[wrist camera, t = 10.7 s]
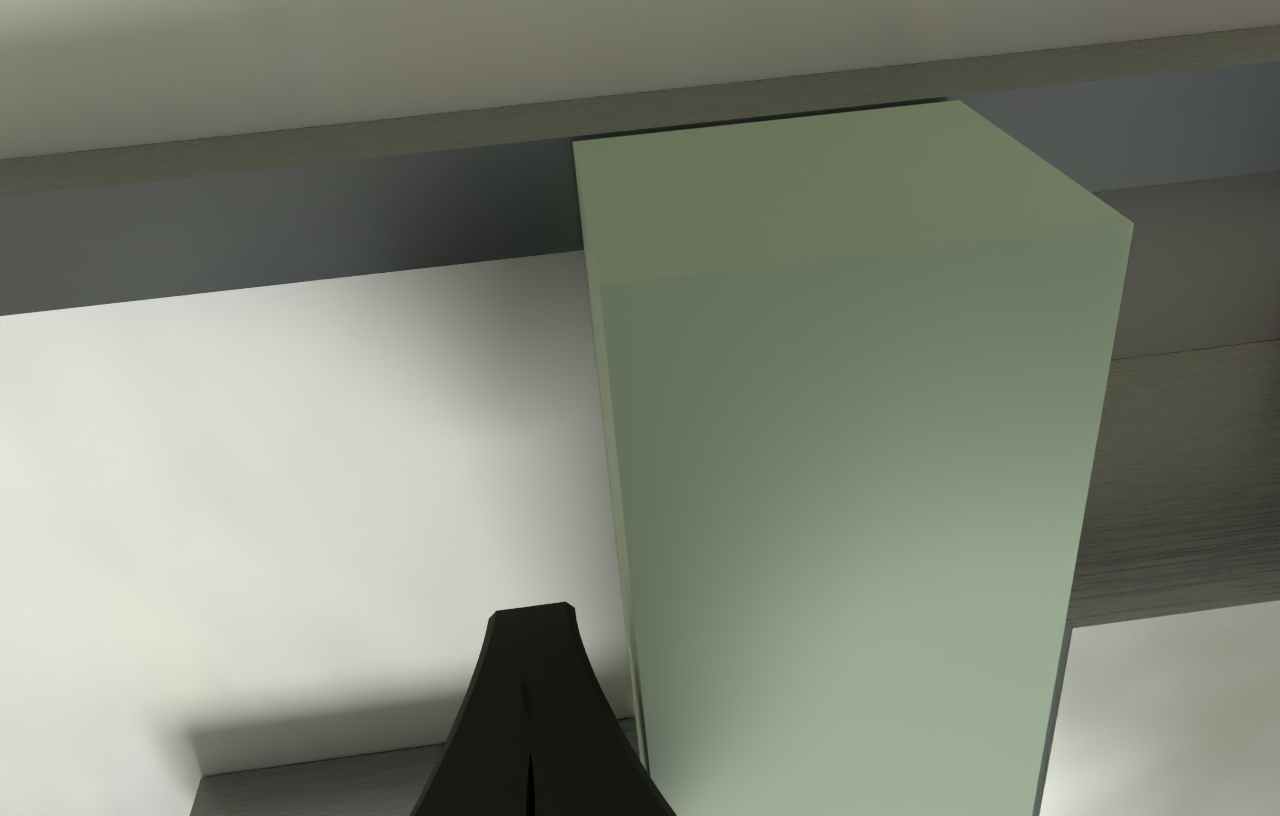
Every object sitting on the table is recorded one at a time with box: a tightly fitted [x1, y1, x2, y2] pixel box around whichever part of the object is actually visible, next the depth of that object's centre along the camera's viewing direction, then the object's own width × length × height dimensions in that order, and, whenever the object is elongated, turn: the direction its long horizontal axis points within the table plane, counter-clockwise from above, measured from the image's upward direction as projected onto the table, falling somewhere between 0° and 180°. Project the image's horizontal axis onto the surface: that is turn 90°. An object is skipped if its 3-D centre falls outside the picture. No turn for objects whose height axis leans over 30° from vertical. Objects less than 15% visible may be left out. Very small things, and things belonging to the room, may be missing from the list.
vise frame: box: [0, 26, 1280, 816], centre depth 15 cm, size 21×13×5 cm, turn 94°
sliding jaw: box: [572, 100, 1135, 816], centre depth 14 cm, size 5×13×5 cm, turn 4°
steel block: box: [1032, 340, 1280, 816], centre depth 15 cm, size 6×4×6 cm, turn 94°
